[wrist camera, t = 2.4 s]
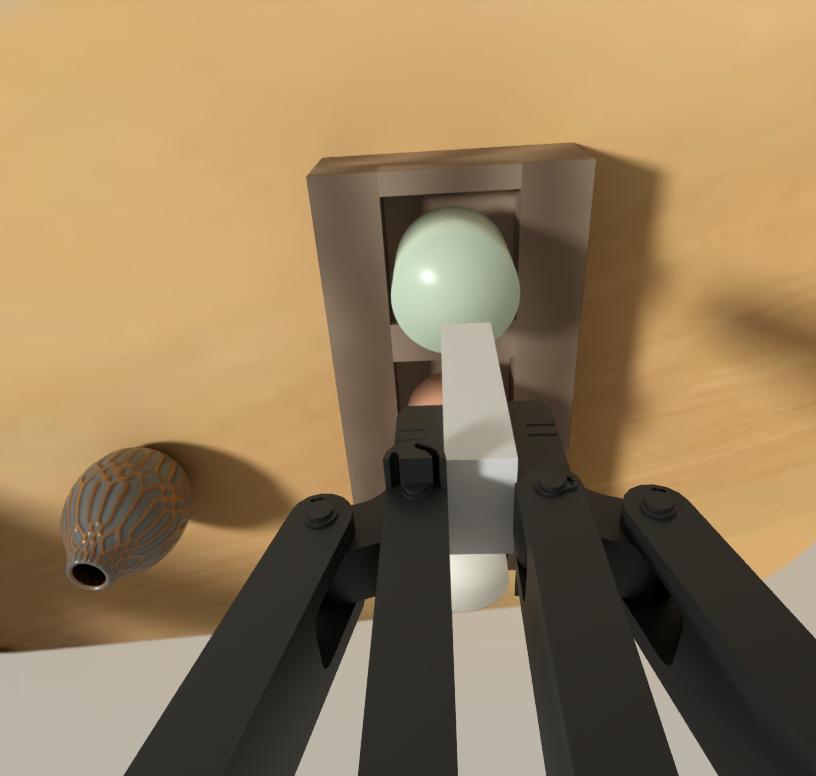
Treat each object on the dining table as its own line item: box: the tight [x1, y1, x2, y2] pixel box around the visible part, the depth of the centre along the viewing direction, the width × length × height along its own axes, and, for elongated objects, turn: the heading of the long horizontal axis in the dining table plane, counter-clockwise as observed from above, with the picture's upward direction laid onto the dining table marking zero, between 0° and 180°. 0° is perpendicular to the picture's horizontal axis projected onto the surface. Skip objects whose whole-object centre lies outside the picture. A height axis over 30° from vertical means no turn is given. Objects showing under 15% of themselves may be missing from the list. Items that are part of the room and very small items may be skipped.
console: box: [306, 143, 596, 570], centre depth 32 cm, size 12×24×4 cm, turn 4°
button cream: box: [450, 554, 509, 612], centre depth 33 cm, size 5×5×4 cm
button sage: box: [391, 206, 520, 353], centre depth 24 cm, size 5×5×4 cm
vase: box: [60, 447, 192, 591], centre depth 35 cm, size 7×7×9 cm
